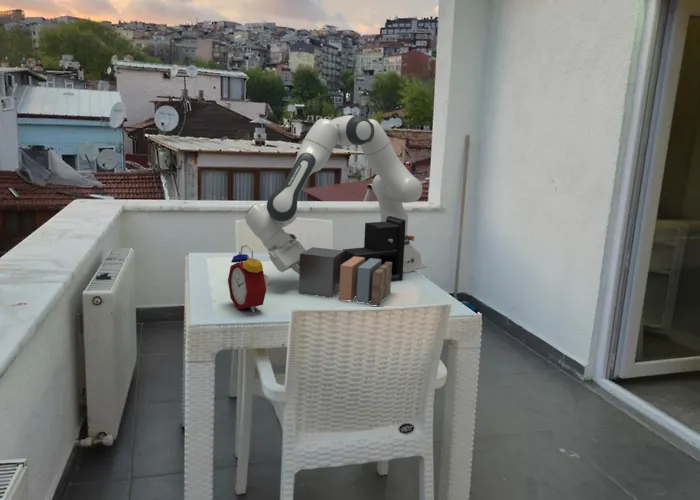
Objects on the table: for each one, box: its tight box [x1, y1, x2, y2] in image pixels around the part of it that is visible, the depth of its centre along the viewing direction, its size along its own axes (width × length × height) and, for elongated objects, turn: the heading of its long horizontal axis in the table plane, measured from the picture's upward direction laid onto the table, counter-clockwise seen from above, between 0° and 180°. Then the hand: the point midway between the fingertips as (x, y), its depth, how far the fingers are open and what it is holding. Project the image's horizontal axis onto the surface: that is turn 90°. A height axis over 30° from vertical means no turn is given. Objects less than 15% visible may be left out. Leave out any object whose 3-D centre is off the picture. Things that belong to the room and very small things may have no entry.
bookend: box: [342, 216, 406, 282], centre depth 213 cm, size 23×11×24 cm, turn 120°
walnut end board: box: [370, 262, 392, 306], centre depth 190 cm, size 18×2×11 cm, turn 162°
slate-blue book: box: [355, 258, 382, 304], centre depth 191 cm, size 15×4×12 cm, turn 162°
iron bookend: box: [298, 246, 345, 298], centre depth 196 cm, size 12×12×14 cm
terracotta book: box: [338, 256, 365, 301], centre depth 193 cm, size 15×4×12 cm, turn 162°
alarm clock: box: [227, 244, 270, 314], centre depth 174 cm, size 15×9×20 cm, turn 35°
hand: (304, 274), depth 198 cm, fingers closed
